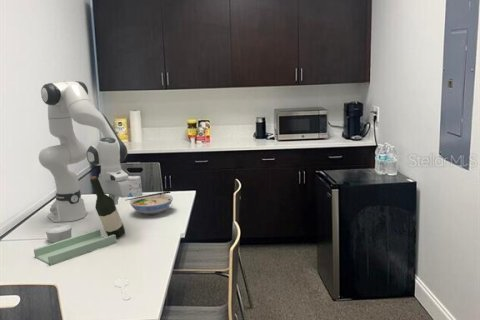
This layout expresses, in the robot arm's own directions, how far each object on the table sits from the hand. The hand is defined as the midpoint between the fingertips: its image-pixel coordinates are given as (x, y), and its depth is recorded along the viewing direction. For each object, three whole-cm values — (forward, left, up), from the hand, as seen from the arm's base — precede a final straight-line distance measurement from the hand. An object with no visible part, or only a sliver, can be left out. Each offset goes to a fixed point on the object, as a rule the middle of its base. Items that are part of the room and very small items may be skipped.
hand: (114, 204), depth 214 cm
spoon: (+48, -29, -16) cm, 59 cm away
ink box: (-54, +47, -15) cm, 73 cm away
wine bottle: (0, 0, -14) cm, 14 cm away
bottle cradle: (0, -20, -15) cm, 25 cm away
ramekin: (-19, -18, -15) cm, 31 cm away
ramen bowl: (-16, +32, -15) cm, 39 cm away
